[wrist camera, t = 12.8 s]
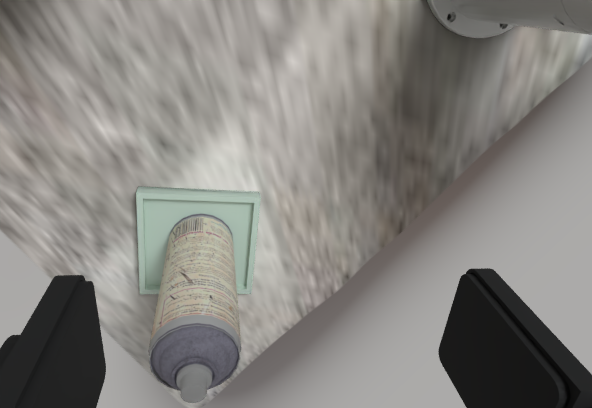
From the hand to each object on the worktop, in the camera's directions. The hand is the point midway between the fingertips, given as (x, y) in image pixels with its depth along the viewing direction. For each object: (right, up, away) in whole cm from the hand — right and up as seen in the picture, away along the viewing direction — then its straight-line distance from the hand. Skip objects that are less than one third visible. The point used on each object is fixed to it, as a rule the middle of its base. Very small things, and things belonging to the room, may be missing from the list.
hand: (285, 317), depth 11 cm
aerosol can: (-10, -1, +36) cm, 37 cm away
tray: (-10, -1, +37) cm, 38 cm away
